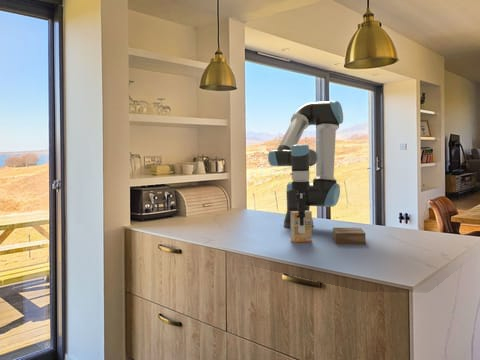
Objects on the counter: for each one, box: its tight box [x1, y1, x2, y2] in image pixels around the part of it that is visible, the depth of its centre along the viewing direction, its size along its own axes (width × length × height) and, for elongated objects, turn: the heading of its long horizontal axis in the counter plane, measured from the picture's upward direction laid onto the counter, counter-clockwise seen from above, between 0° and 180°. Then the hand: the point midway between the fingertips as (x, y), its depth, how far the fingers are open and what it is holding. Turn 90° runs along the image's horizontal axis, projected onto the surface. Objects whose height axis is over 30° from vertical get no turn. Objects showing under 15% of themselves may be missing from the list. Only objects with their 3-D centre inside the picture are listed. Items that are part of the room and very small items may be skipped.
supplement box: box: [290, 210, 313, 244], centre depth 174 cm, size 8×5×13 cm, turn 101°
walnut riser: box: [332, 227, 366, 246], centre depth 173 cm, size 12×12×5 cm
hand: (301, 230), depth 174 cm, fingers open, 13 cm apart
